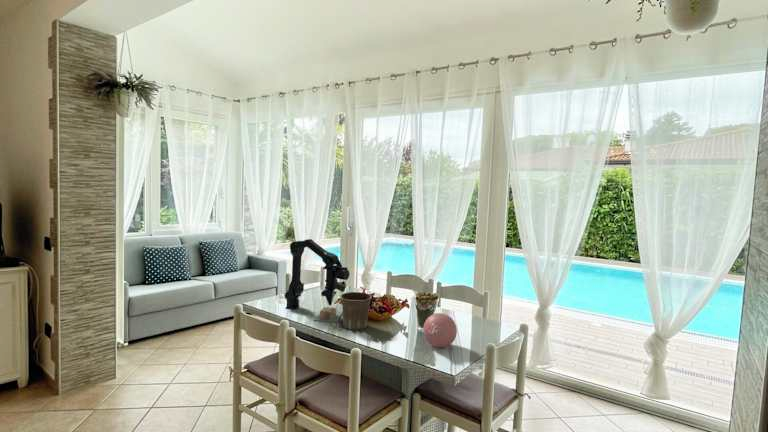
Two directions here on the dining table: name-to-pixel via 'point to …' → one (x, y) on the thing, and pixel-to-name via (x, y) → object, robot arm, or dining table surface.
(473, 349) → the dining table surface
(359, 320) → the plant pot
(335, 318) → the mat
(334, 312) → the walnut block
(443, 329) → the pink ball
